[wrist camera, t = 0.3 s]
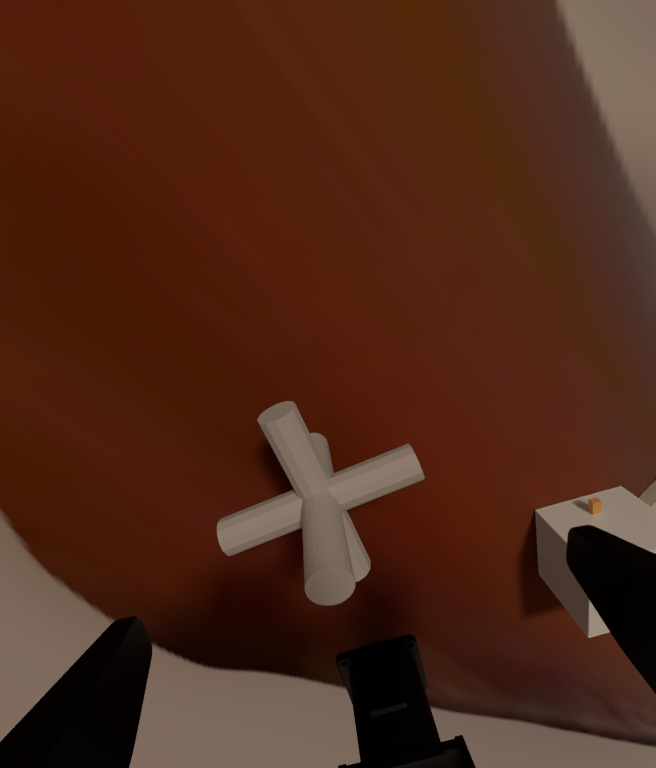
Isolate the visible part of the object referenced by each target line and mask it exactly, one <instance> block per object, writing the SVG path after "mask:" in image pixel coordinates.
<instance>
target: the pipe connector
mask: <svg viewBox="0 0 656 768" xmlns="http://www.w3.org/2000/svg"><path fill="white" fill-rule="evenodd" d="M257 420H258V422H259V424H260V426H261V428H262V430H263V432H264V434H265V436H266V438H267V439H268V441H269V443H270V445H271V447H272V449H273V451H274V452H275V454H276V456H277V458H278V460H279V462H280V464H281V466H282V467H283V469H284V471H285V473H286V475H287V477H288V479H289V481H290V482H291V484H292V486H293V488H294V490H291V491H289V492H286V493H284V494H281V495H279V496H276V497H274V498H271V499H269V500H266V501H264V502H261V503H259V504H256V505H254V506H251V507H249V508H246V509H244V510H241V511H239V512H236V513H234V514H231V515H229V516H226V517H224V518H221V519H220V520H219V522H218V524H217V536H218V541H219V544H220V546H221V548H222V550H223V552H224V553H225V554H226V555H227V556H232V555H235V554H237V553H240V552H242V551H245V550H247V549H250V548H252V547H255V546H257V545H260V544H262V543H265V542H268V541H270V540H273V539H275V538H278V537H280V536H283V535H285V534H288V533H290V532H293V531H295V530H298V529H300V528H302V535H303V558H304V580H305V593H306V595H307V597H308V598H309V599H310V600H311V601H312V602H314V603H316V604H319V605H325V606H328V605H335V604H339V603H341V602H343V601H345V600H346V599H348V598H349V597H350V596H351V595H352V593H353V592H354V589H355V582H358V581H360V580H361V579H363V578H364V577H366V575H367V573H368V572H369V570H370V563H371V561H370V559H369V557H368V555H367V553H366V550H365V548H364V546H363V544H362V542H361V540H360V538H359V536H358V534H357V532H356V530H355V527H354V525H353V523H352V521H351V519H350V517H349V515H348V513H347V511H346V510H348V509H351V508H353V507H356V506H358V505H361V504H363V503H366V502H368V501H371V500H374V499H376V498H379V497H381V496H384V495H386V494H389V493H391V492H394V491H396V490H399V489H401V488H404V487H406V486H409V485H411V484H414V483H416V482H419V481H421V480H424V479H425V478H424V474H423V471H422V469H421V466H420V464H419V461H418V459H417V457H416V455H415V453H414V451H413V449H412V447H411V446H410V445H409V443H408V444H406V445H403V446H401V447H398V448H396V449H393V450H391V451H388V452H386V453H383V454H381V455H378V456H376V457H373V458H371V459H368V460H366V461H363V462H361V463H358V464H356V465H353V466H351V467H349V468H346V469H344V470H341V471H339V472H336V473H334V472H333V467H332V462H331V457H330V452H329V447H328V442H327V440H326V438H325V437H324V436H323V435H321V434H318V433H310V434H309V432H308V429H307V427H306V425H305V423H304V421H303V419H302V417H301V415H300V413H299V411H298V409H297V407H296V404H295V403H294V402H293V401H285V402H281V403H278V404H276V405H274V406H272V407H270V408H268V409H267V410H265V411H264V412H263V413H262V414H261V415H260V416H259V418H258V419H257Z"/></svg>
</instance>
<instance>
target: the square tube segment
mask: <svg viewBox="0 0 656 768" xmlns="http://www.w3.org/2000/svg"><path fill="white" fill-rule="evenodd" d="M535 518H536V537H537V555H538V574H539V575H540V576H541V578H542V579H543V580H544V581H545V583H546V584H547V585H548V587H549V588H550V589H551V590H552V592H553V593H554V594H555V596H556V597H557V598H558V599H559V601H560V602H561V603H562V605H563V606H564V607H565V609H566V610H567V611H568V612H569V614H570V615H571V616H572V618H573V619H574V620H575V621H576V623H577V624H578V625H579V627H580V628H581V629H582V630H583V632H584V633H585V634H586V636H587V637H588V638H591V637H594V636H598V635H601V634H605V633H608V632H610V631H609V630H608V628H607V626H606V625H605V623H604V622H603V620H602V619H601V617H600V616H599V614H598V612H597V611H596V609H595V608H594V606H593V605H592V603H591V602H590V600H589V599H588V597H587V595H586V594H585V592H584V591H583V589H582V588H581V586H580V585H579V583H578V582H577V580H576V578H575V577H574V575H573V574H572V572H571V571H570V569H569V567H568V564H567V561H566V549H567V538H568V531H569V530H570V529H571V528H573V527H578V526H583V525H592V526H595V527H597V528H600V529H602V530H604V531H606V532H608V533H611V534H613V535H615V536H617V537H619V538H622V539H624V540H626V541H628V542H630V543H633V544H635V545H637V546H639V547H641V548H644V549H646V550H648V551H650V552H653V553H655V554H656V510H654V509H653V508H652V507H650V506H649V505H647V504H646V503H644V502H643V501H642V500H640V499H639V498H637V497H636V496H635V495H633V494H632V493H630V492H629V491H627V490H626V489H625V488H623V487H622V486H619V487H615V488H612V489H608V490H604V491H601V492H597V493H594V494H590V495H586V496H583V497H579V498H576V499H572V500H568V501H565V502H561V503H558V504H554V505H550V506H547V507H543V508H540V509H536V510H535Z"/></svg>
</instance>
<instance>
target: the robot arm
mask: <svg viewBox="0 0 656 768" xmlns="http://www.w3.org/2000/svg"><path fill="white" fill-rule="evenodd" d="M566 561H567V564H568V567H569V569H570V571H571V572H572V574H573V575H574V577H575V578H576V580H577V582H578V583H579V585H580V586H581V588H582V589H583V591H584V592H585V594H586V595H587V597H588V599H589V600H590V602H591V603H592V605H593V606H594V608H595V609H596V611H597V612H598V614H599V616H600V617H601V619H602V620H603V622H604V623H605V625H606V626H607V628H608V630H609V631H610V633H611V634H612V636H613V637H614V639H615V640H616V641H617V643H618V644H619V646H620V647H621V649H622V650H623V651H624V653H625V654H626V656H627V657H628V658H629V660H630V661H631V662H632V664H633V665H634V666H635V668H636V669H637V670H638V671H639V673H640V674H641V675H642V677H643V678H644V679H645V681H646V682H647V683H648V684H649V686H650V687H651V688H652V690H653V691H654V692H655V694H656V554H655V553H653V552H650V551H648V550H646V549H644V548H641V547H639V546H637V545H635V544H633V543H630V542H628V541H626V540H624V539H622V538H619V537H617V536H615V535H613V534H611V533H608V532H606V531H604V530H602V529H600V528H597V527H595V526H592V525H583V526H578V527H573V528H571V529H570V530H569V531H568V538H567V549H566ZM151 658H152V644H151V641H150V639H149V637H148V635H147V633H146V630H145V628H144V626H143V624H142V622H141V620H140V618H138V617H137V616H132V617H128V618H123V619H118V620H116V621H115V622H113V623H112V624H111V625H110V626H109V627H108V628H107V629H106V630H105V631H104V632H103V633H102V635H101V636H100V637H99V638H98V639H97V640H96V641H95V642H94V643H93V644H92V645H91V646H90V647H89V648H88V649H87V650H86V651H85V653H84V654H83V655H82V656H81V657H80V658H79V659H78V660H77V661H76V662H75V663H74V664H73V665H72V666H71V667H70V668H69V670H68V671H67V672H66V673H65V674H64V675H63V676H62V677H61V678H60V679H59V680H58V681H57V682H56V683H55V684H54V685H53V687H52V688H51V689H50V690H49V691H48V692H47V693H46V694H45V695H44V696H43V697H42V698H41V699H40V700H39V702H38V703H37V704H36V705H35V706H34V707H33V708H32V709H31V710H30V711H29V712H28V713H27V714H26V715H25V716H24V717H23V718H22V720H21V721H20V722H19V723H18V724H17V725H16V726H15V727H14V728H13V729H12V730H11V731H10V732H9V733H8V734H7V736H5V738H4V739H3V740H2V741H1V742H0V768H129V765H130V762H131V758H132V754H133V749H134V744H135V740H136V734H137V730H138V725H139V720H140V715H141V709H142V704H143V699H144V694H145V689H146V683H147V678H148V673H149V668H150V663H151ZM337 663H338V667H339V670H340V673H341V675H342V678H343V681H344V683H345V686H346V688H347V691H348V693H349V696H350V699H351V702H352V704H353V709H354V717H355V724H356V731H357V738H358V746H359V753H360V759H361V762H360V763H356V764H352V765H348V766H347V765H346V764H344V765H340V766H338V768H475V765H474V763H473V760H472V758H471V755H470V753H469V751H468V748H467V746H466V743H465V741H464V738H463V736H462V735H460V736H456V737H455V739H452V740H448V741H444V742H441V741H440V738H439V734H438V732H437V728H436V725H435V721H434V718H433V715H432V712H431V708H430V705H429V702H428V699H427V695H426V692H425V689H426V688H427V682H426V678H425V674H424V670H423V666H422V662H421V658H420V654H419V650H418V646H417V642H416V639H415V637H414V636H406V637H402V638H399V639H395V640H392V641H388V642H384V643H381V644H377V645H374V646H370V647H366V648H363V649H359V650H356V651H352V652H349V653H345V654H342V655H339V656H338V657H337Z"/></svg>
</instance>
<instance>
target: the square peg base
mask: <svg viewBox="0 0 656 768" xmlns="http://www.w3.org/2000/svg"><path fill="white" fill-rule="evenodd" d="M639 499H640V500H642V501H643V502H644V503H646V504H647V505H649V506H650V507H652V508H653V509H654V510H656V480H655V481H654V482H653V483H652V484H651V485H650V486H649V487H648V488H647V489H646V490H645V491H644V492H643V493H642V494H641V495H640V497H639Z"/></svg>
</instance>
